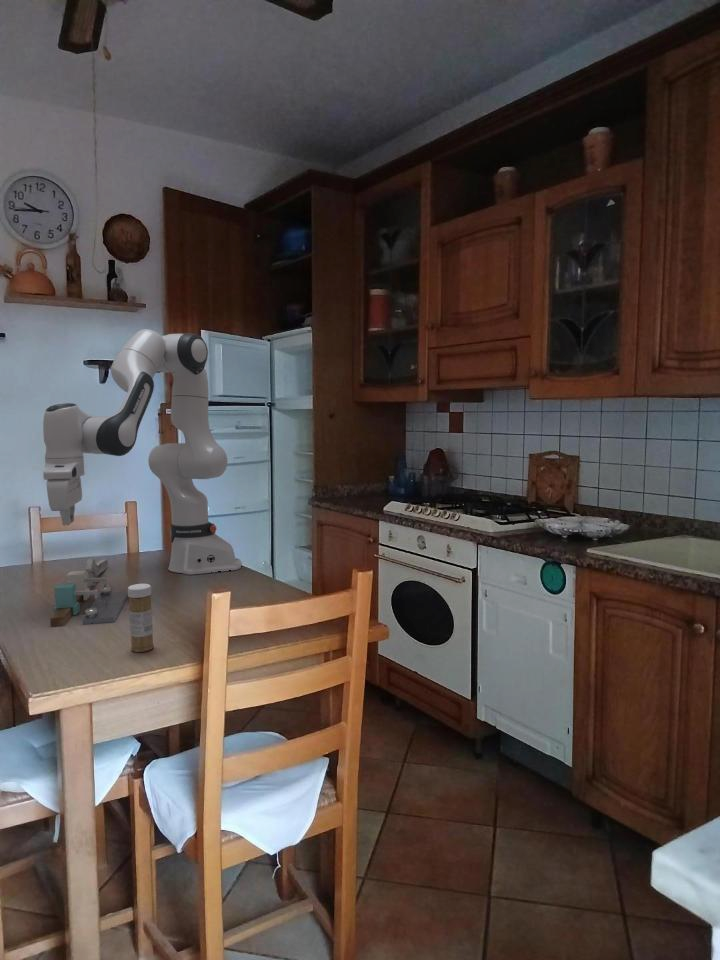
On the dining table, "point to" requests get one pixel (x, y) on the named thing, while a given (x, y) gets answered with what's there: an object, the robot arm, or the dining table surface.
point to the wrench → (95, 568)
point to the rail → (63, 614)
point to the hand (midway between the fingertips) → (68, 523)
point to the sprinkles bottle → (140, 617)
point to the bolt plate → (105, 606)
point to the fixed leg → (83, 581)
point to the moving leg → (69, 597)
